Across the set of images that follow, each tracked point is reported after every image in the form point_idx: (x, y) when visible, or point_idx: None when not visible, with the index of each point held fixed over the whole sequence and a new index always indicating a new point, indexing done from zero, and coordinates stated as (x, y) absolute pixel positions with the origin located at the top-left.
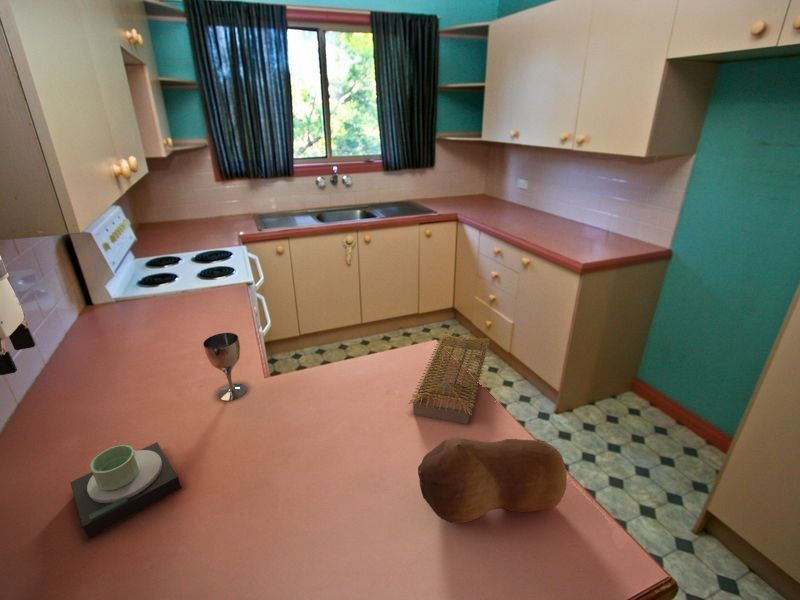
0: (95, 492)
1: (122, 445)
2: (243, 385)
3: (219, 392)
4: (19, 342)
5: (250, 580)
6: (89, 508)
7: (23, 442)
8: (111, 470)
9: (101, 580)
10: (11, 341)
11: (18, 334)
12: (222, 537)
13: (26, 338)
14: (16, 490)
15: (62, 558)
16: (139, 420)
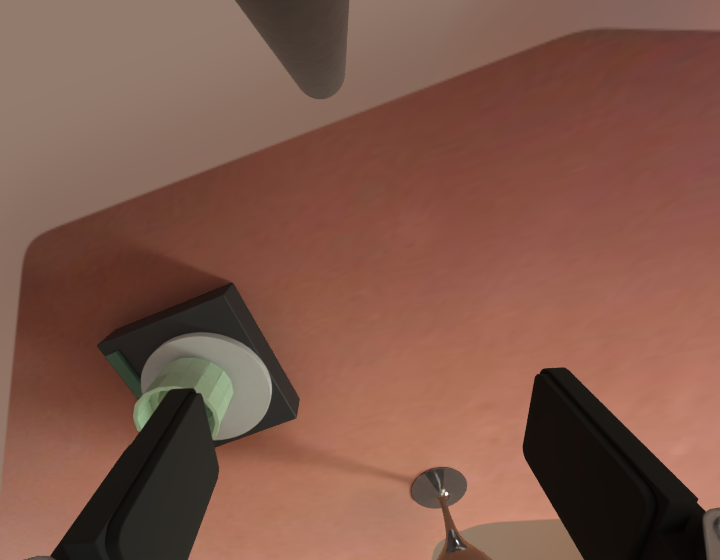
0: (165, 354)
1: (215, 430)
2: (449, 504)
3: (447, 471)
4: (558, 445)
5: (15, 513)
6: (138, 346)
7: (468, 111)
8: (136, 426)
9: (33, 363)
10: (583, 422)
11: (604, 522)
12: (86, 487)
13: (566, 501)
14: (282, 161)
15: (82, 301)
16: (427, 348)
